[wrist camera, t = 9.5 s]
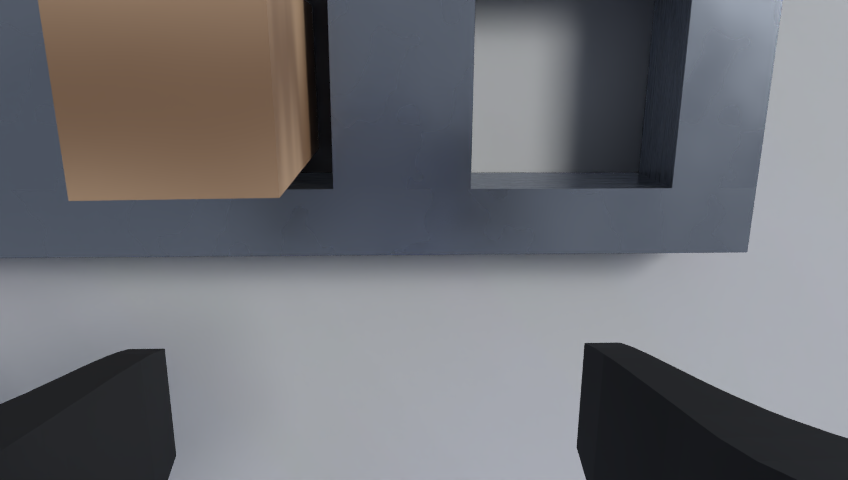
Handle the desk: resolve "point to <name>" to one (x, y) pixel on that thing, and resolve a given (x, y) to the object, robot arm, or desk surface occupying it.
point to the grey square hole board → (426, 152)
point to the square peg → (181, 96)
